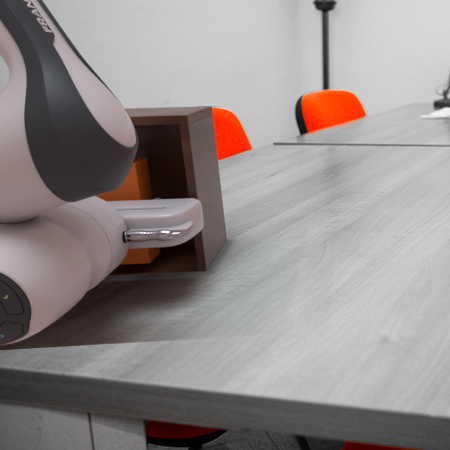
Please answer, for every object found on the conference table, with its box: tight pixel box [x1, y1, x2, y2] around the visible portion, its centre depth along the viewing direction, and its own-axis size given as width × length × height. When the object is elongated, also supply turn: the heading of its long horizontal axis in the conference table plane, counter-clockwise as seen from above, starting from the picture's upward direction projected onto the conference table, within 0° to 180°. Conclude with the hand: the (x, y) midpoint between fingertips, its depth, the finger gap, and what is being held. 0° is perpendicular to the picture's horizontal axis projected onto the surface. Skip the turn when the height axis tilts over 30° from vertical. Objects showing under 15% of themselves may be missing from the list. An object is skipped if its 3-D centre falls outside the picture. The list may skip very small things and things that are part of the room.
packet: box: [96, 158, 160, 265], centre depth 68 cm, size 5×4×12 cm
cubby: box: [107, 105, 228, 277], centre depth 71 cm, size 18×12×20 cm, turn 95°
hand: (128, 205), depth 69 cm, fingers closed on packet, 5 cm apart
